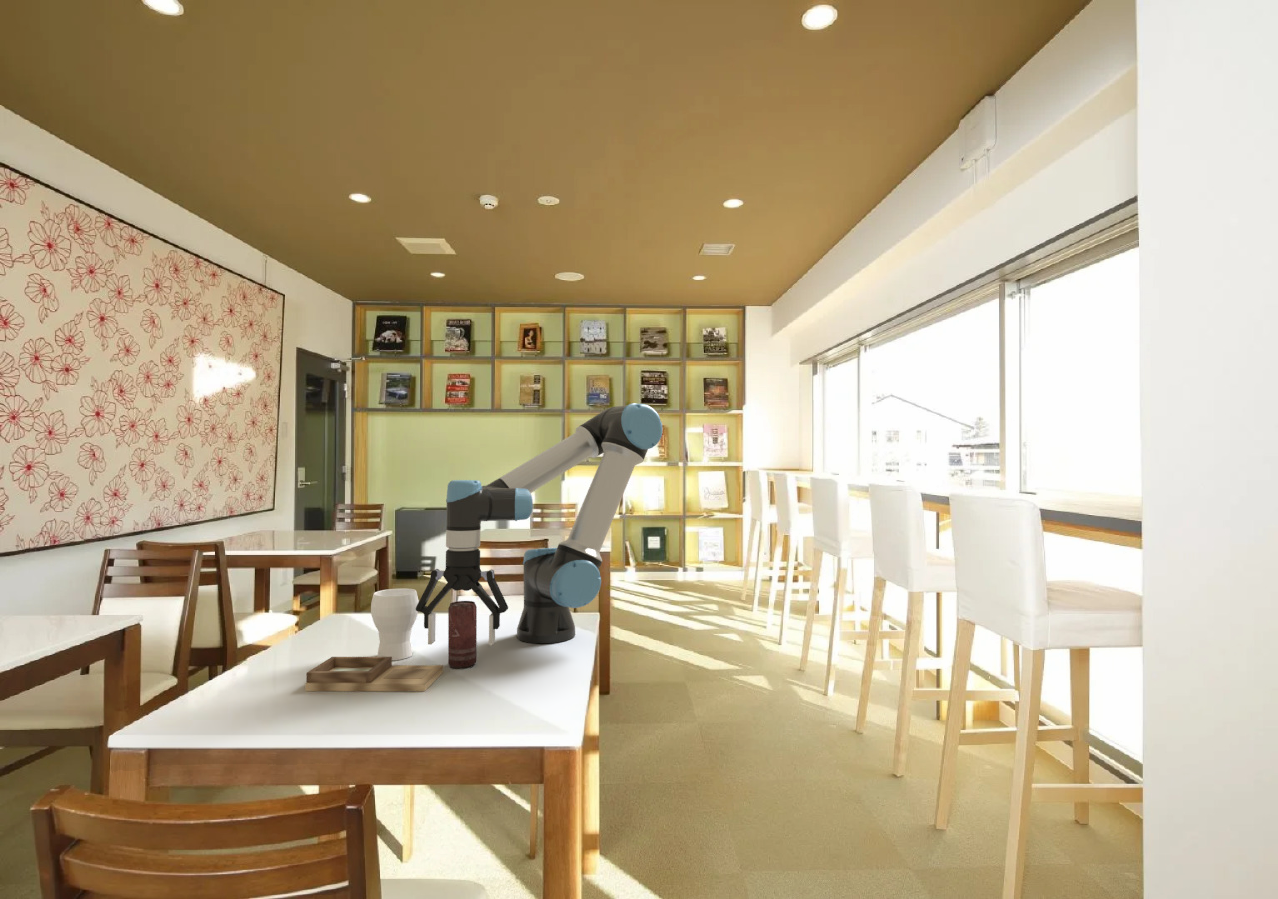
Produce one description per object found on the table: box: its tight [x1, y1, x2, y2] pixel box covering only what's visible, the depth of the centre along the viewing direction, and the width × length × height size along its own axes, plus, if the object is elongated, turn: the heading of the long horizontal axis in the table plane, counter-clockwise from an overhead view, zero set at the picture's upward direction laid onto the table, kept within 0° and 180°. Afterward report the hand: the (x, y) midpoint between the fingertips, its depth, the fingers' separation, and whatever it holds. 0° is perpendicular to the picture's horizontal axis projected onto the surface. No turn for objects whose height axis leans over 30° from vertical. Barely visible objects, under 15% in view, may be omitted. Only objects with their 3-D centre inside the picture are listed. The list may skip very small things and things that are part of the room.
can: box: [447, 600, 478, 670], centre depth 151 cm, size 6×6×14 cm
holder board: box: [304, 656, 444, 692], centre depth 140 cm, size 24×12×4 cm, turn 89°
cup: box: [370, 588, 420, 661], centre depth 158 cm, size 11×11×15 cm
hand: (461, 643), depth 151 cm, fingers open, 13 cm apart
